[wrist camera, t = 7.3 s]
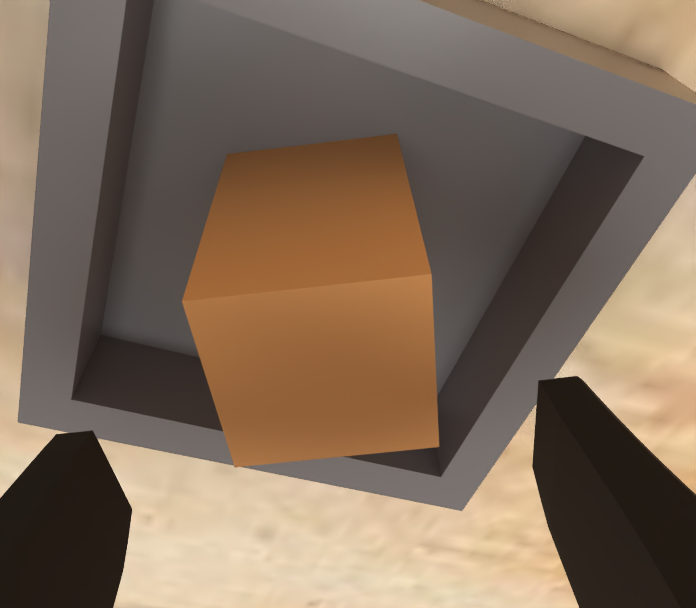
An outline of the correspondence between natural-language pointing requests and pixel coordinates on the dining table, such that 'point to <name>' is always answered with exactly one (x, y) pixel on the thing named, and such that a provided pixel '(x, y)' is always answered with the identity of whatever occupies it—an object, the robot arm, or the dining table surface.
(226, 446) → the tray
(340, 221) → the block
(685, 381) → the dining table surface
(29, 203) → the dining table surface
